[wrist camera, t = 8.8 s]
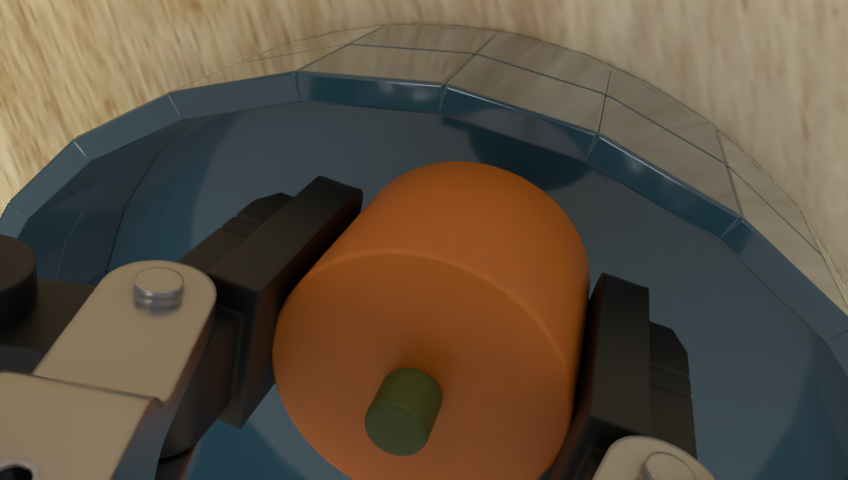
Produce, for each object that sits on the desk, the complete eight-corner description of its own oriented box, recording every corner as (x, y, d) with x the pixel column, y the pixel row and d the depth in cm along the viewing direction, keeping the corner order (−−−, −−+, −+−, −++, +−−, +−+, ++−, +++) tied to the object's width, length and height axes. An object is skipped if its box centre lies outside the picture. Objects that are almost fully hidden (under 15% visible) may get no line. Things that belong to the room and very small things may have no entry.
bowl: (369, -212, 14) (240, -261, 9) (1090, 483, 16) (1262, 711, 11) (9, 369, 24) (-131, 475, 20) (470, 742, 26) (435, 913, 22)
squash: (454, 107, 11) (363, 210, 7) (645, 282, 11) (645, 460, 8) (311, 267, 13) (186, 408, 9) (477, 411, 13) (417, 599, 10)
